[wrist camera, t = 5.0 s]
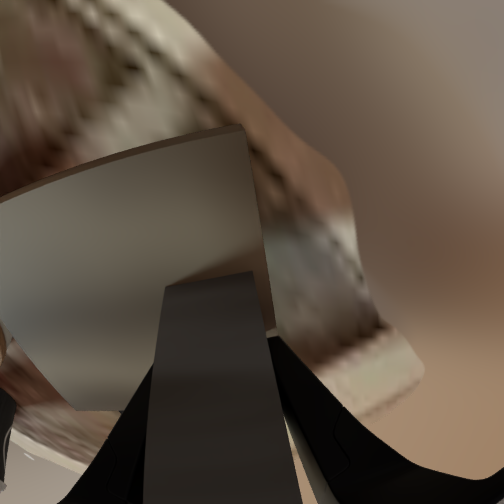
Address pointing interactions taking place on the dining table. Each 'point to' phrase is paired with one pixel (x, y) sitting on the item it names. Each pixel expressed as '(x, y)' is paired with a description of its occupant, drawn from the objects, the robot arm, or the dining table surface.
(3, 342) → the lidded jar
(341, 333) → the dining table surface
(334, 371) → the dining table surface
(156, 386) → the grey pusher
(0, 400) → the coffee cup
